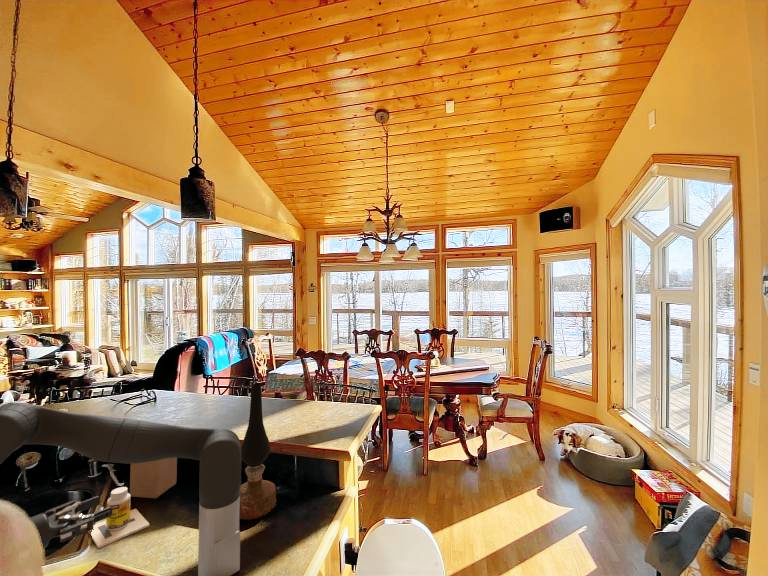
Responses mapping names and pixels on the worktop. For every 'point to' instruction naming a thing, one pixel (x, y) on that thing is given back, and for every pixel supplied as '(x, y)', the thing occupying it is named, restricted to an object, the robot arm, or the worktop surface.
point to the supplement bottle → (118, 509)
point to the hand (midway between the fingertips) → (105, 505)
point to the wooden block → (152, 477)
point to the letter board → (106, 537)
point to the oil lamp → (256, 463)
